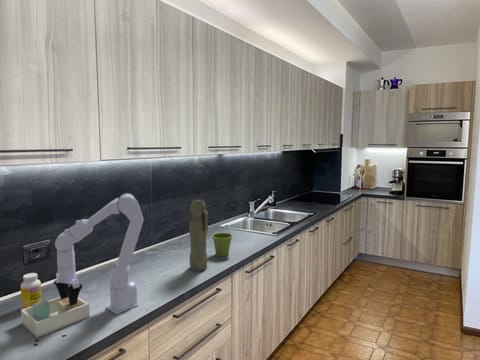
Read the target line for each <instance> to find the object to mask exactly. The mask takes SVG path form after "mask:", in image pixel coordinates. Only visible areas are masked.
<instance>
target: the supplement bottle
mask: <svg viewBox="0 0 480 360" xmlns="http://www.w3.org/2000/svg"><path fill="white" fill-rule="evenodd" d="M22 279H23V282H21V284H20V295H21V296H20V299H21V300H20V302H21V310H22V309H25V308H28V307H31V306H33V305H34V304H35V303H38V302H41V301H43V299H42V282H41V280H40V279H38V273H36V272H29V273H26V274H24V275H23V277H22Z"/></svg>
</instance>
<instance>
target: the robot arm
mask: <svg viewBox="0 0 480 360" xmlns="http://www.w3.org/2000/svg"><path fill="white" fill-rule="evenodd" d="M120 212H121V213H122V214H124V216H126V217H127V219H128V220H129V225H128V228H127V230H126V233H125V237H124V240H123V243H122V245H121V249H120V252H119V255H118V258H117V260H116V263H115V265H114V266H113V267H112V269H111V270H110V284H109V298H110V299H109V300H110V302H109V303H110V304H109V305H106V306H105V308H106V309H107V310H109V311H111V312H112V313H114V314H116V315H118V314H121V313H123V312H125V311H127V310H130V309H133V308H135V307H138V306H139V303H138V292H137V291H138V289H137V285H136V284H135V282H134V281H131V280H130V281H129V271H130V266H131V265H130V264H131V262H132V259H133V255H134V252H135V249H136V246H137V243H138V240H139V237H140V233H141V230H142V227H143V223H144V219H145V218H144V215H143V212H142V210H141V207H140V204H139V201H138V200H137V198H136V197H135V196H134V194H131V193H127V192H126V193H123V194H121V195H120V196H119V197H116V198H114V199H113V200H111V201H110V202H108V203H107V204H106V205H105V206H103V207H102V208H101V209H100V210H98V211H96V212H95V214H93V215H92V216H90V217H89V218H88V219H87V218H86V219H85V218H83V219H80V220H79V219H77V220H76V221H75V222H74V223H75V224H74V225H72V226H71V227H69V228H66V229H64V230H63V232H61V233H60V234H59V235H58V236H57V237H56V239H55V242H54V247H55V249H56V260H57V261H56V264H57V272H56V273H55V277H56V279H55V280H53V284H54V286H55V287H56V289H57V291H58V295H59V297H60V298H61V299H64V298H67V297H68V299H69V303H70V305H71V306H72V305H75V304H77V300H78V297H79V295H80V292H81V290H82V288H83V284H81V283H80V281H79V279H78V277H77V272H76V270H77V269H76V257H75V256H76V255H75V253H76V252H75V249H74V244H75V243H78V242H80V241H81V240H82V239H84V238H85V237H87V236H88V235H89V234H91V233H92V232H93V230H94V227H95V226H96V225H97V224H99V223H101V222H102V221H103V220H105V219H106V218H108V217H109V216H110V215H118V214H120Z"/></svg>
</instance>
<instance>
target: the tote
mask: <svg viewBox="0 0 480 360" xmlns="http://www.w3.org/2000/svg"><path fill="white" fill-rule="evenodd" d="M67 298H68V297H67ZM64 299H66V298H64ZM60 300H63V299H61V298H60V296H59V297H56V298H52V299H50V300H47V301H48V302H49V306H50V317H49V318H46V319H44V320H41V321H38V322H37V321H36V320H35V319H34V318H33V306H31V307H28V308H25V309H22V308H21V310H20V317H21V319H20V320H21V324H22V325H23V326H24V327H25V328H26V329H27V330H28V331H29V332H30V333H31V334H32V335H33V336H34V337H35V338H37V339H38V338H41V337H43V336H46V335H48V334H50V333H53V332H55V331H57V330H60V329H63V328H65V327H68V326H70V325H72V324H75V323H78V322H80V321H83V320H85V319H88V318H90V303H89V302H86V301H85V300H84V299H82V298H81V297H79V296H78V300H77V301H78V307H76V308H73V309H71V310H68V311H65V312H63V313H60V314H58V303H57V301H60Z"/></svg>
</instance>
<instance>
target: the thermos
mask: <svg viewBox="0 0 480 360" xmlns="http://www.w3.org/2000/svg"><path fill="white" fill-rule="evenodd" d="M206 208H207V206H206V203H205V200H203V199H196V198H195V199H193V200H191V203H190V208H189V210H188V228H189V236H190V253H189V269H190V270H191V271H193V272H203V271H206V270H207V269H208V252H207V235H208V230H209V212H208V211H207V209H206Z"/></svg>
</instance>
